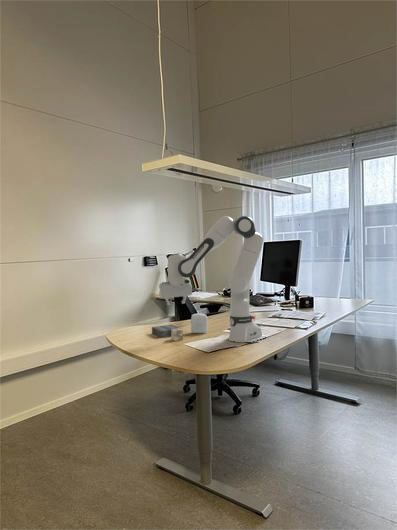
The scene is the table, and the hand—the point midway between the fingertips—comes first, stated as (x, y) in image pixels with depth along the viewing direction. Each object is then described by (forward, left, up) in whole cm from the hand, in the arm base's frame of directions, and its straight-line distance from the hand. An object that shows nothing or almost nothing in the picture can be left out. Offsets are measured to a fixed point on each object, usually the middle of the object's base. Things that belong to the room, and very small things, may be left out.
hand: (176, 304), depth 210 cm
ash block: (0, 0, -21) cm, 21 cm away
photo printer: (-19, -7, -21) cm, 29 cm away
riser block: (0, -16, -21) cm, 27 cm away
